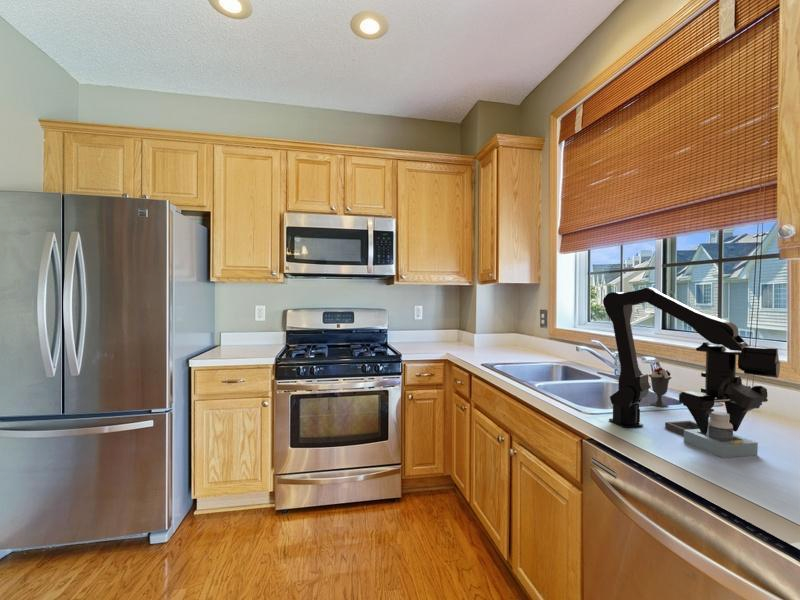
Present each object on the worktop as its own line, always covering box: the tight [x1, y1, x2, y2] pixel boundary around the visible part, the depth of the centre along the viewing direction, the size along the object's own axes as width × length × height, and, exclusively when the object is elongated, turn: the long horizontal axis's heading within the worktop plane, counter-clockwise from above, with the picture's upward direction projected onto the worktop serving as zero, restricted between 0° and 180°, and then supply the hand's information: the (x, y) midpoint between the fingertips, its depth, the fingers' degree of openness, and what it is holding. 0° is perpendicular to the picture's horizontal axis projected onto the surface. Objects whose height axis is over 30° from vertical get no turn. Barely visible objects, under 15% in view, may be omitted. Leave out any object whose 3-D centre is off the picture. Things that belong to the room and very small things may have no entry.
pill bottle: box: [705, 410, 734, 442], centre depth 93 cm, size 5×5×9 cm
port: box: [683, 428, 759, 459], centre depth 93 cm, size 10×10×3 cm
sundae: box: [648, 362, 673, 408], centre depth 128 cm, size 7×7×15 cm
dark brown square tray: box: [664, 420, 699, 436], centre depth 103 cm, size 8×8×2 cm
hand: (719, 432), depth 93 cm, fingers open, 9 cm apart
